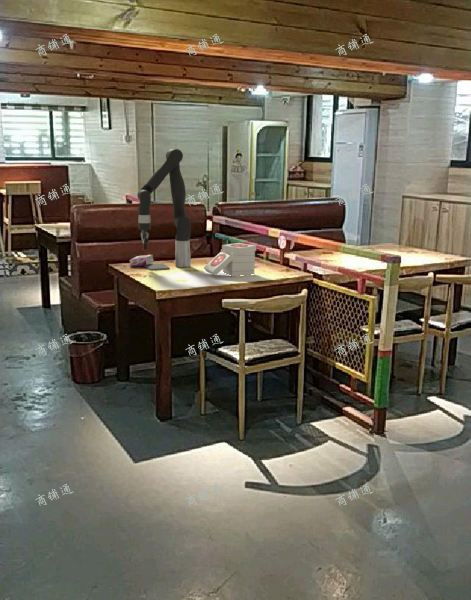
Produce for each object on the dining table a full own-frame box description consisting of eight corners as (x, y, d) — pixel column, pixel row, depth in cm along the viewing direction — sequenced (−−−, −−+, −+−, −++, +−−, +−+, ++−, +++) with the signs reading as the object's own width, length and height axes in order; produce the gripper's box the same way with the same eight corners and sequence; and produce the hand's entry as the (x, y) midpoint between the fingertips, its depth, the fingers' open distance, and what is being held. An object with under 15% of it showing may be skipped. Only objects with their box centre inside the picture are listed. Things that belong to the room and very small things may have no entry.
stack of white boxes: (202, 273, 389) (202, 244, 385) (246, 270, 401) (246, 242, 397) (213, 279, 372) (214, 249, 368) (259, 276, 384) (259, 246, 380)
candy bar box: (129, 259, 403) (136, 256, 419) (130, 267, 404) (137, 263, 420) (145, 257, 401) (152, 254, 417) (146, 265, 402) (153, 261, 418)
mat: (162, 265, 414) (162, 263, 414) (169, 269, 400) (169, 267, 399) (143, 266, 409) (143, 264, 409) (149, 270, 395) (149, 268, 395)
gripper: (153, 223, 390) (153, 250, 394) (147, 220, 402) (148, 247, 406) (141, 223, 387) (141, 251, 391) (136, 221, 399) (136, 247, 403)
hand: (145, 249), depth 399 cm, fingers closed
